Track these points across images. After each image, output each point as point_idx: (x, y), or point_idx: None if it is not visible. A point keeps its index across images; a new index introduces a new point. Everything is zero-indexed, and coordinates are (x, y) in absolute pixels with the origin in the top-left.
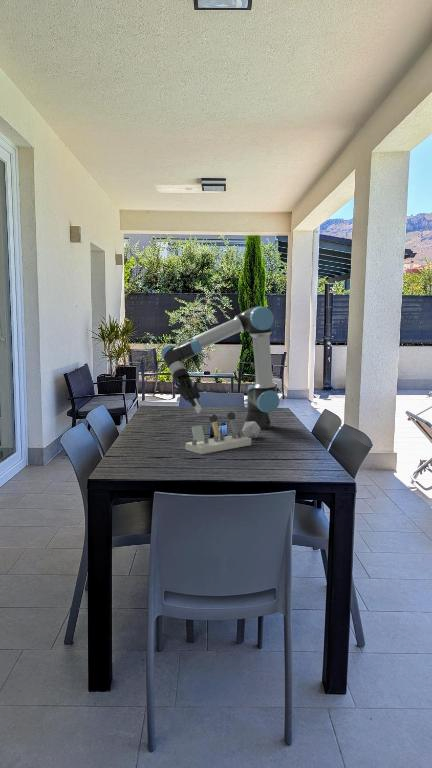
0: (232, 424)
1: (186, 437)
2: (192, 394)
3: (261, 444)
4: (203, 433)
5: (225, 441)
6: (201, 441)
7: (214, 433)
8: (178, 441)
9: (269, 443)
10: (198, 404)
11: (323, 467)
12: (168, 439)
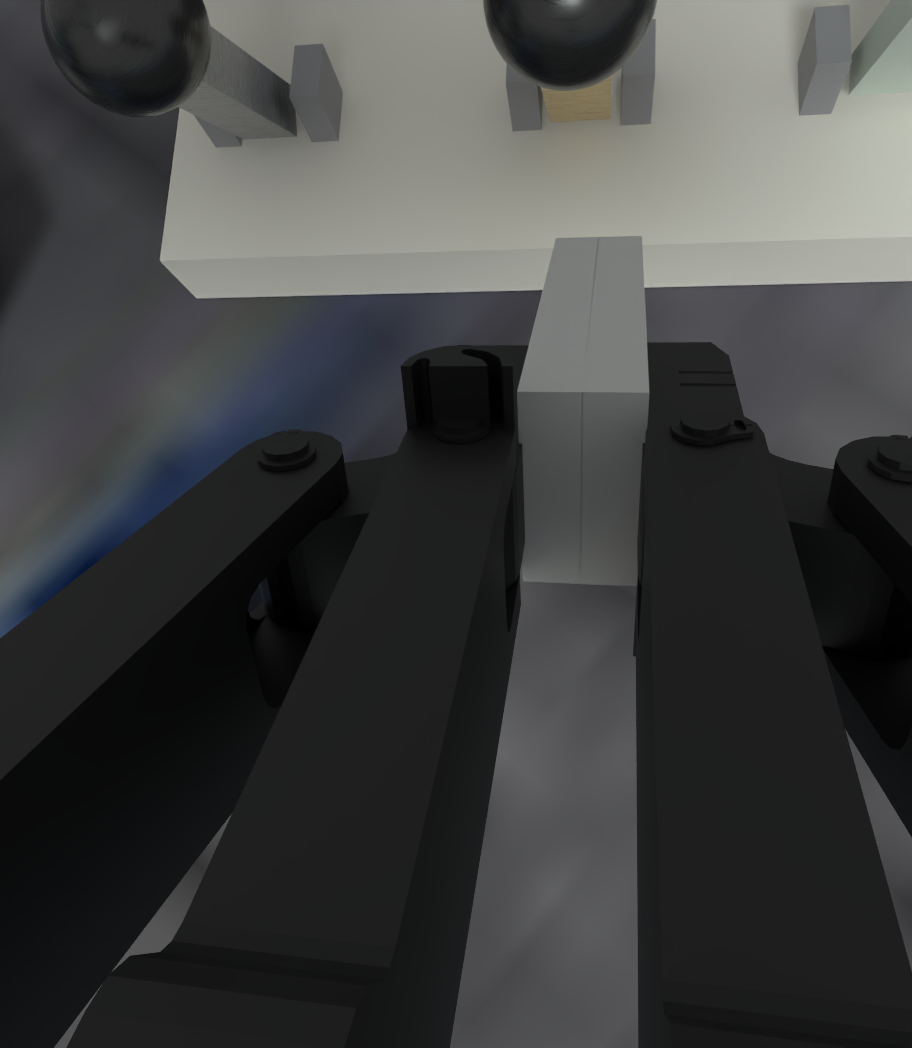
0: (231, 53)
1: (532, 868)
2: (488, 644)
3: None
4: (883, 11)
5: None
6: (812, 183)
7: (610, 96)
8: None
9: (37, 17)
10: (582, 292)
11: None
12: None
